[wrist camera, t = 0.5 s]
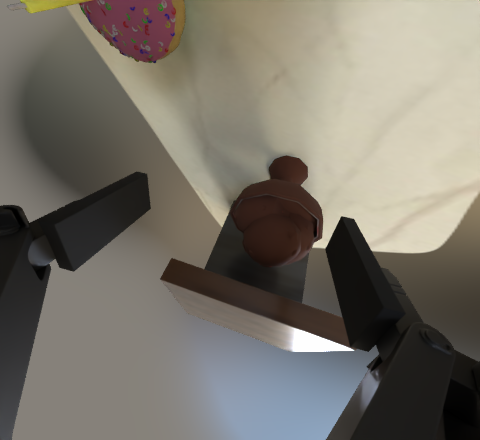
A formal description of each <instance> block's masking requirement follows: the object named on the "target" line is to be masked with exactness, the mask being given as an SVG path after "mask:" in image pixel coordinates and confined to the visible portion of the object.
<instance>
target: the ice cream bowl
mask: <svg viewBox="0 0 480 440" xmlns="http://www.w3.org/2000/svg"><path fill="white" fill-rule="evenodd" d="M269 171H270V176H271V179H270V180H267V181H263V182H259V183H255V184H251V185H250V186H248V187H247V188H245V189H244V190H243V191H242V193H241V194H240V195H239V197H238V198H237V200H236V202H235V204H234V205H233V207H232V209H231V210H230V212H229V213H230V215H231V217H232V219H233V221H234V223H235V226H236V228H237V229H238V230H239V231H241V232H242V233H243V236H244V240H243V241H242V244H243V247H244V250H245V252H246V253H248V255H249V256H250V257H251V258H252V259H253V260H254V261H255V262H257V263H259V264H260V265H261V266H264V267H272V266H280V267H281V266H283V265H289V264H291V263H293V262H296V261H299V260H301V259H302V258H304V257H305V256H306V255H307V254H308V252H309V251H310V250H311V248H312V246H313V243H314V242H316V241H318V240H320V239H321V238H322V230H323V215H322V209H321V207H320V205H319V204H318V202H317V201H316V200H315V199H314V198H313V197H312V196H311V195H310V194H309V193H308V192H307V191H306V190H305V189H304V188H303V187H301V186H300V185H301V184H302V183H303V182H304V181H305V180H306V179H307V177H308V167H307V166H306V165H305V164H304V163H303V162H302V161H301V160H300V159H299V158H295V157H290V156H284V157H280V158H277V159H275V160H274V161H273V163H272V164H271V166H270V167H269Z"/></svg>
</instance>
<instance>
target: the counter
mask: <svg viewBox="0 0 480 440" xmlns="http://www.w3.org/2000/svg"><path fill="white" fill-rule="evenodd" d="M235 202H236V201H234V202H233V204H232V207H233V205H234V204H235ZM232 207H231V209H232ZM231 209H230V210H231ZM229 212H230V211H229ZM243 240H244V236H243V233H242V232H241V231H239V230H238V229H237V228H236V226H235V223H234V221H233V219H232V217H231V215H230V213H229V214H228V216H227V218H226V221H225V223H224V225H223V227H222V230H221V232H220V234H219V237H218V239H217V241H216V244H215V246H214V248H213V250H212V253H211V255H210V257H209V260H208V262H207V264H206V267H205V269H202V268H199V267H196V266H193V265H190V264H187V263H184V262H182V261H178V260H176V259H173V258H172V259H171V260H170V262H169V264H168V266H167V267H166V269H165V271H164V273H163V275H162V276H161V278H160V280H161V281H162V282H163V284H164V285H165V286H166V287H167V288H168V290H169V291H170V292H171V293H172V294H173V296H174V297H175V298H176V300H177V301H178V302H179V303H180V305H181V306H182V307H183V308H184V310H185V311H186V312H187V313H188V314H191V315H194V316H196V317H199V318H202V319H204V320H207V321H210V322H213V323H215V324H218V325H221V326H223V327H226V328H228V329H231V330H234V331H236V332H239V333H242V334H244V335H247V336H250V337H252V338H255V339H258V340H260V341H263V342H266V343H268V344H271V345H274V346H276V347H279V348H282V349H284V350H287V351H348V350H350V351H351V350H356V348H353V347H350V344H349V340H348V336H347V332H346V329H345V325H344V321H343V318H342V317H340V316H337V315H334V314H331V313H328V312H325V311H322V310H319V309H316V308H314V307H311V306H308V305H305V304H302V299H303V291H304V284H305V277H306V269H307V263H308V256H309V252H308V254H307V255H306V256H305V257H304V258H302V259H301V260H299V261H296V262H293V263H291V264H289V265H283V266H281V267H280V266H272V267H264V266H261V265H260V264H259V263H257V262H255V261H254V260H253V259H252V258H251V257H250V256H249V255H248V253H246V252H245V250H244V247H243V244H242V241H243Z"/></svg>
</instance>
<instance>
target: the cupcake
mask: <svg viewBox="0 0 480 440" xmlns="http://www.w3.org/2000/svg"><path fill="white" fill-rule="evenodd" d="M20 1H21V3H18V4H12V5H8V6H7V7H8V8H9V9H10V10H17V9H23V8H25V9H26V10H27V11H28V12H29V13H36V12H40V11H45V10H50V9H54V8H59V7H63V6H68V5H73V4H78V3H79V5H80V7H81V10H82V11H83V13H84V14H85V15H86V17H87V18H88V20H89V22H90V24H91V25H93V27H94V28H95V29H96V30H97V31H98V32H99V33H100V34H102V36H103V37H104V38H105V39H106V40H107V41H108V42H110V45H111V44H112V45H111V46H114V47H115V48H116V49H118V50H119V51H120V53H121V52H122V53H121V54H123V55H125V56H128V57H129V58H130V57H132V58H134V59H135V61H137V62H139V61H143V62H149V63H152V62H153V63H156V60H158V59H162V58H164V57H166V56H167V55H169V54H170V53H171V52H173V51H174V50H175V49H176V48H177V47H178V45H179V43H180V40H181V35H182V32H183V29H184V25H185V4H184V0H20Z"/></svg>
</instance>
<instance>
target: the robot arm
mask: <svg viewBox="0 0 480 440" xmlns="http://www.w3.org/2000/svg"><path fill="white" fill-rule="evenodd" d="M150 209H151V207H150V197H149V188H148V178H147V174H145V173H141V172H135V173H133V174H131V175H129V176H127V177H125V178H123V179H121V180H119V181H117V182H115V183H113V184H111V185H109V186H107V187H105V188H103V189H101V190H99V191H97V192H95V193H93V194H91V195H89V196H87V197H85V198H83V199H81V200H77V201H73V202H72V203H69V204H68V205H65V207H61V208H59V209H57V211H53V212H51V213H49V214H47V215H45V216H43V217H41V218H39V219H37V220H35V221H33V222H31V223H29V221H28V220H27V218H26V215H25V213H24V211H23V209H22V208H21V207H19V206H15V205H3V206H0V440H12V433H13V429H14V424H15V420H16V416H17V411H18V407H19V403H20V399H21V394H22V390H23V386H24V382H25V378H26V373H27V369H28V365H29V361H30V356H31V352H32V348H33V344H34V339H35V335H36V331H37V327H38V322H39V318H40V314H41V310H42V305H43V301H44V297H45V293H46V288H47V284H48V280H49V276H50V271H51V266H50V264H49V263H50V262H51V261H53V260H54V259H56V261H57V263H58V265H59V267H60V268H63V269H66V270H70V271H75V270H76V269H77V268H79V267H80V266H81V265H83V264H84V263H85V262H86V261H87V260H89V259H90V258H91V257H92V256H94V255H95V254H96V253H97V252H98V251H100V250H101V249H102V248H103V247H104V246H106V245H107V244H108V243H109V242H111V241H112V240H113V239H114V238H115V237H117V236H118V235H119V234H120V233H121V232H123V231H124V230H125V229H126V228H128V227H129V226H130V225H131V224H133V223H134V222H135V221H136V220H137V219H139V218H140V217H141V216H142V215H143V214H145V213H146V212H147V211H148V210H150ZM325 250H326V253H327V258H328V262H329V265H330V269H331V273H332V278H333V281H334V285H335V289H336V293H337V297H338V301H339V305H340V309H341V313H342V317H343V321H344V325H345V329H346V332H347V336H348V340H349V344H350V347H353V348H356V349H360V350H364V351H368V352H369V351H370V350H371V349H372V347H374V346H375V345H376V346H377V349H378V352H379V355H378V356H377V357H376V358H375V359H374V360H373V361H372V362H371V363H370V364H369V365H368V366H367V368H369V369H368V371H367V373H366V374H365V376H364V378H363V380H362V381H361V383H360V384H359V386H358V388H357V389H356V391H355V393H354V394H353V396H352V398H351V399H350V401H349V403H348V404H347V406H346V407H345V409H344V411H343V412H342V414H341V416H340V417H339V419H338V421H337V422H336V424H335V426H334V427H333V429H332V431H331V432H330V434H329V436H328V437H327V439H326V440H480V362H478V361H476V360H474V359H472V358H470V357H468V356H466V355H464V354H462V353H460V352H458V351H456V350H454V348H453V346H452V344H451V343H450V342H449V341H448V339H447V338H446V337H445V336H444V335H443V334H441V333H440V332H439V331H438V330H436V329H435V328H433V327H431V326H430V325H428V324H425V323H423V321H422V319H421V317H420V316H419V314H418V313H417V311H416V309H415V308H414V306H413V304H412V303H411V301H410V299H409V298H408V296H406V293H405V291H404V290H403V289H402V288H401V287H402V286H401V285H400V283H399V281H398V280H397V278H396V277H395V276H394V275H393V274H392V273H391V272H390V271H389V270H388V269H385V268H381V267H380V266H379V264H378V262H377V260H376V258H375V256H374V255H373V253H372V251H371V249H370V247H369V246H368V244H367V242H366V240H365V238H364V237H363V235H362V233H361V231H360V229H359V227H358V226H357V224H356V222H355V220H354V219H351V218H347V217H342V216H341V218H340V220H339V222H338V224H337V226H336V229H335V231H334V233H333V235H332V237H331V239H330V241H329V243H328V245H327V247H326V249H325Z"/></svg>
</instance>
